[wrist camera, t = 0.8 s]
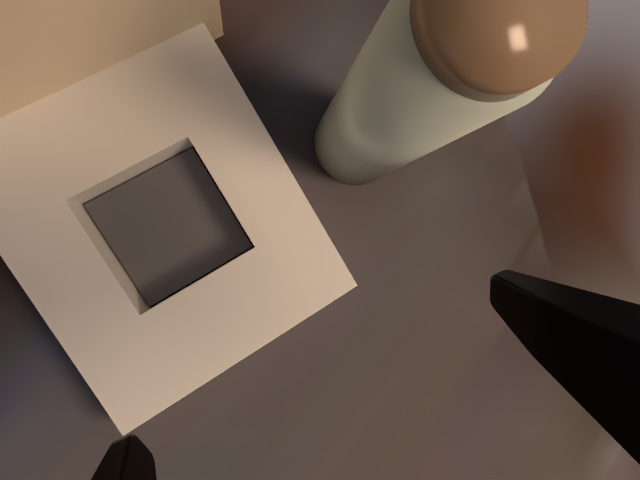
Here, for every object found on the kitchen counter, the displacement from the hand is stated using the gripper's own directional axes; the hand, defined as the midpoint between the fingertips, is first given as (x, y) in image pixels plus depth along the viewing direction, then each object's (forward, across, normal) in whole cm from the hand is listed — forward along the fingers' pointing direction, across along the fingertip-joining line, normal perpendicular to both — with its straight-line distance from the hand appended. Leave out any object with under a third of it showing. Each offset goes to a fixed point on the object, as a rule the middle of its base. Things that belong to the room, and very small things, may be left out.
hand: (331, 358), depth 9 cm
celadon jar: (+15, -7, +1) cm, 17 cm away
